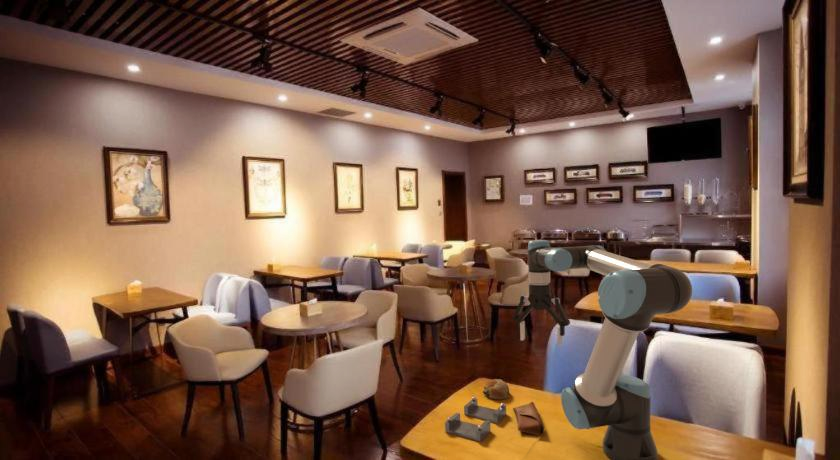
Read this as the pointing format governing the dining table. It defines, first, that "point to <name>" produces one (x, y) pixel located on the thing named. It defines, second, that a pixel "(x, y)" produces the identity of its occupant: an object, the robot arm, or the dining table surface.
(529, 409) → the sunglasses case
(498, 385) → the bread roll
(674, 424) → the dining table surface
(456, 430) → the bent steel plates
